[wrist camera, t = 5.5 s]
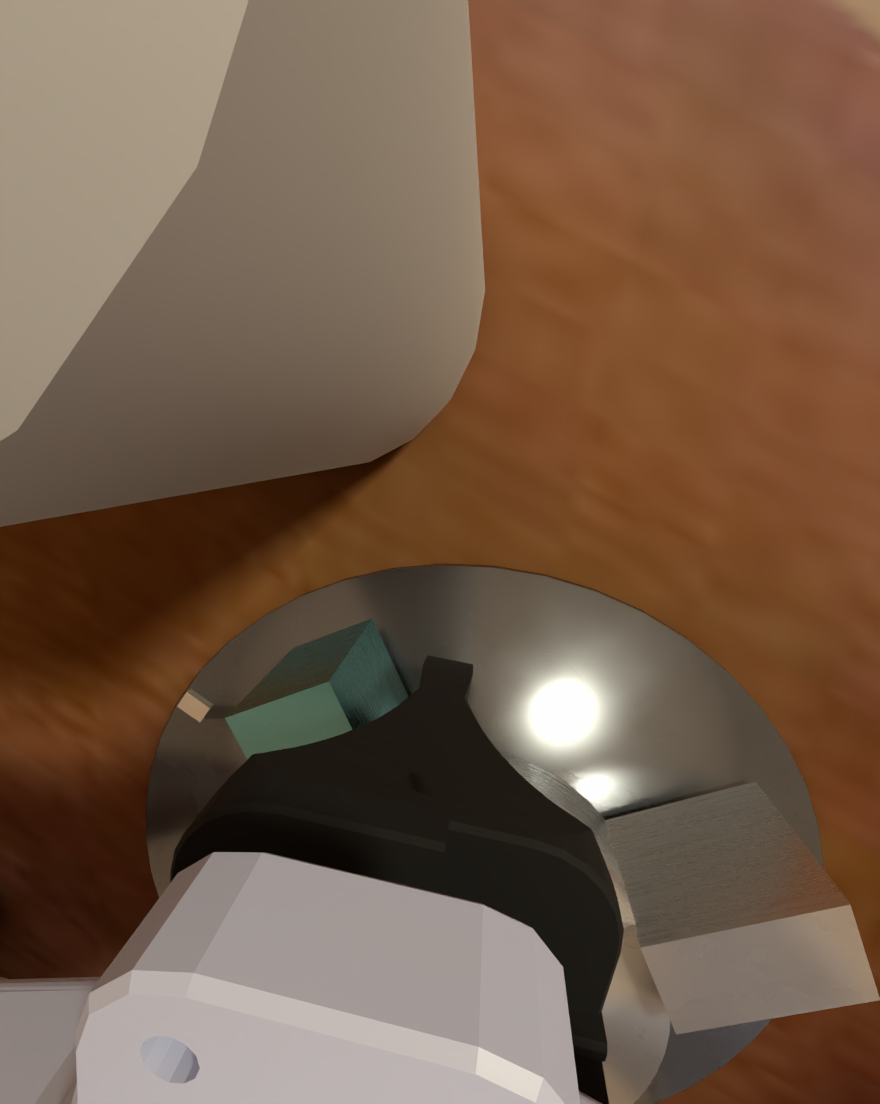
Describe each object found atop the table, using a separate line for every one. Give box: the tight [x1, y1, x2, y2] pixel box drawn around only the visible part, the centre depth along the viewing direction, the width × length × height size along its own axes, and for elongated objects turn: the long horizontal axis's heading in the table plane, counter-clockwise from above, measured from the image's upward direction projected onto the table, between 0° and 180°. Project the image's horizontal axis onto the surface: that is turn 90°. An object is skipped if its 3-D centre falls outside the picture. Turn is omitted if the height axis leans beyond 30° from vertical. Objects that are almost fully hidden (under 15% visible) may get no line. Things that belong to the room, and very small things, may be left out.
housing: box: [146, 564, 823, 1104], centre depth 12 cm, size 20×20×6 cm
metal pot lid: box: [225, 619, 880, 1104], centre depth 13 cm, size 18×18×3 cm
